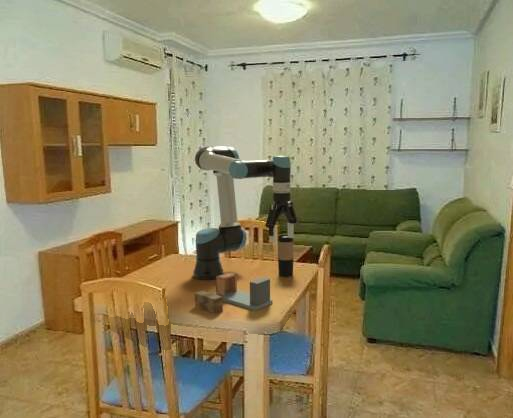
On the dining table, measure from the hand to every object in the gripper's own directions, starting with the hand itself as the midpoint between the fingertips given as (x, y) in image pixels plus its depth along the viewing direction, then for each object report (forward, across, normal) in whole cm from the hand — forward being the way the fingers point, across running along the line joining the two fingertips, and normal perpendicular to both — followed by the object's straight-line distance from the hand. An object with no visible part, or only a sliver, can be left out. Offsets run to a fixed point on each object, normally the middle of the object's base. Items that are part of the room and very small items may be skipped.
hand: (281, 240), depth 196 cm
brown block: (+24, -34, +12) cm, 43 cm away
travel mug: (+24, +23, +14) cm, 36 cm away
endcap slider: (+22, -18, +17) cm, 33 cm away
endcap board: (+24, -18, +8) cm, 31 cm away
